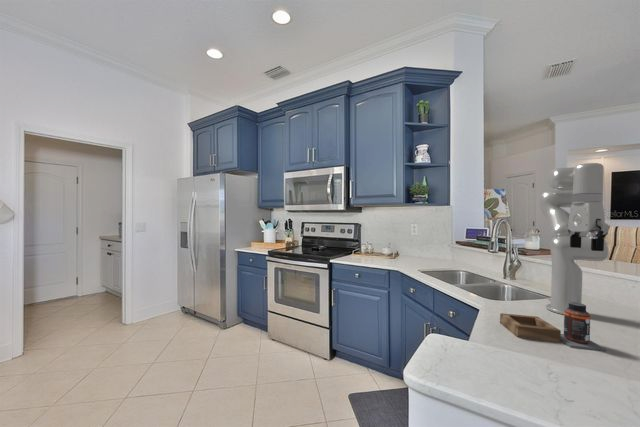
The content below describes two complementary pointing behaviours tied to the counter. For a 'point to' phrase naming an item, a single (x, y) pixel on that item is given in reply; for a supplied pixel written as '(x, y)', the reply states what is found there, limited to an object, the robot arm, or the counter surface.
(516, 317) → the pocket frame
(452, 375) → the counter surface
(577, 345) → the slate coaster
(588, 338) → the supplement bottle
